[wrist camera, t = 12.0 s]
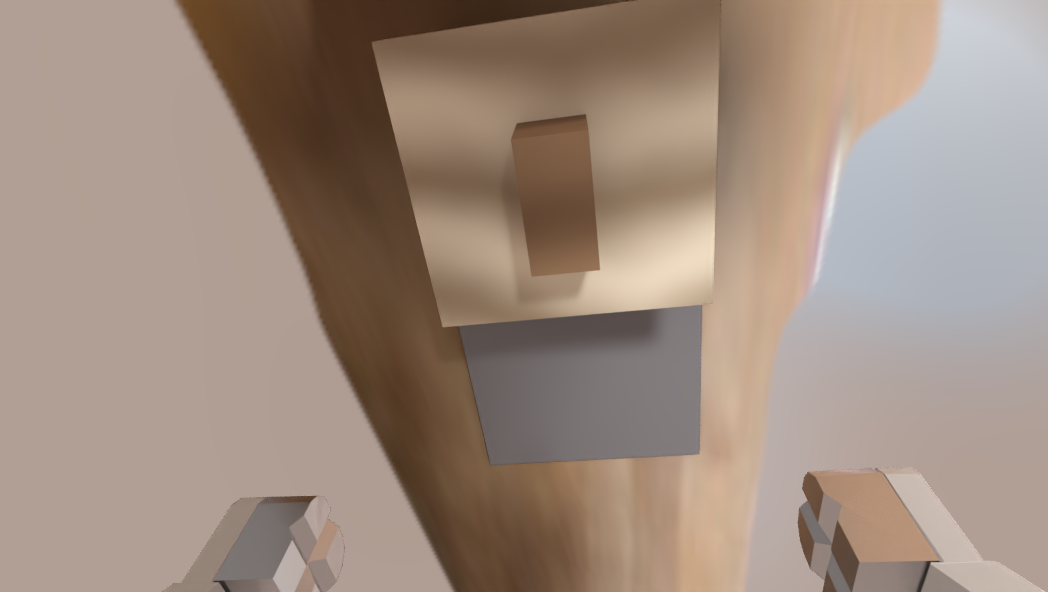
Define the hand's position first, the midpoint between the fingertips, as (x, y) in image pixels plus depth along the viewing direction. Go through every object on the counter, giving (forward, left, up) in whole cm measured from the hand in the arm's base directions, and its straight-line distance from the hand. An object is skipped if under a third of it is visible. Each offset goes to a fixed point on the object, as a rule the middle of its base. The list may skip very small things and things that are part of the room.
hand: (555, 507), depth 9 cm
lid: (0, 0, -19) cm, 19 cm away
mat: (+16, 0, -25) cm, 30 cm away
